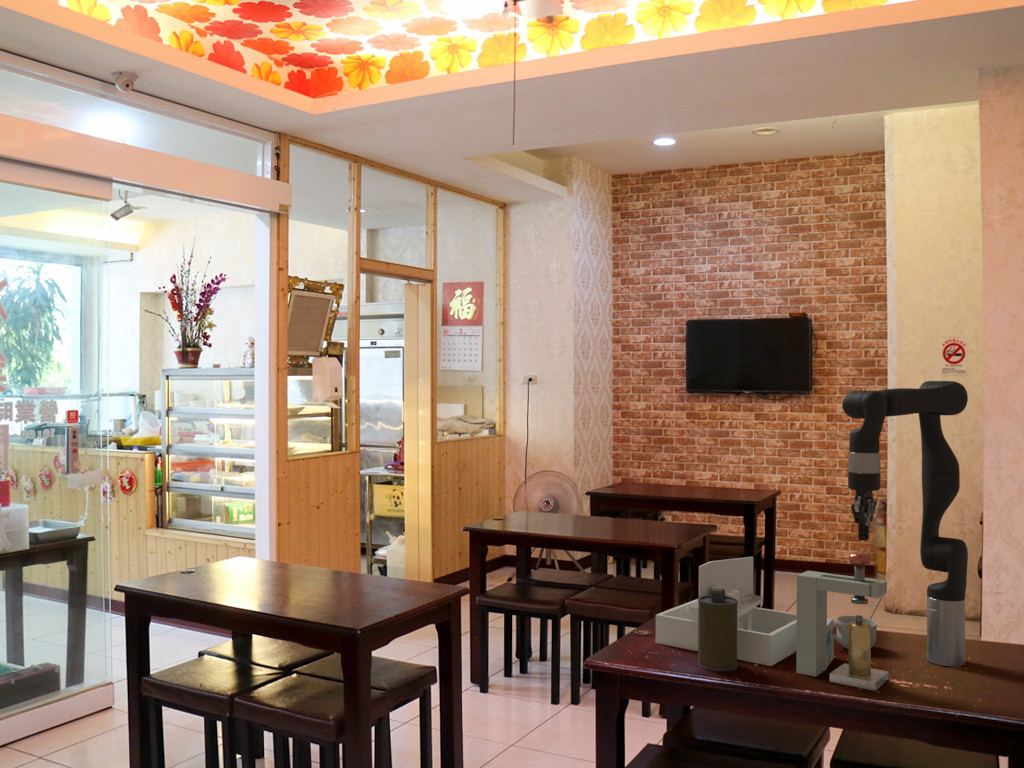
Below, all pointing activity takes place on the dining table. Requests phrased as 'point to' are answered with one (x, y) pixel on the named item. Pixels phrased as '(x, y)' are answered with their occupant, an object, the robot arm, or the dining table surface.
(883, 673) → the plate
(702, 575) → the upright panel with ledge
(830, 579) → the press frame
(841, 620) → the teacup
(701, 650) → the canister
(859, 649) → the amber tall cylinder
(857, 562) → the ram
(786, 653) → the box
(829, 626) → the light bulb box
